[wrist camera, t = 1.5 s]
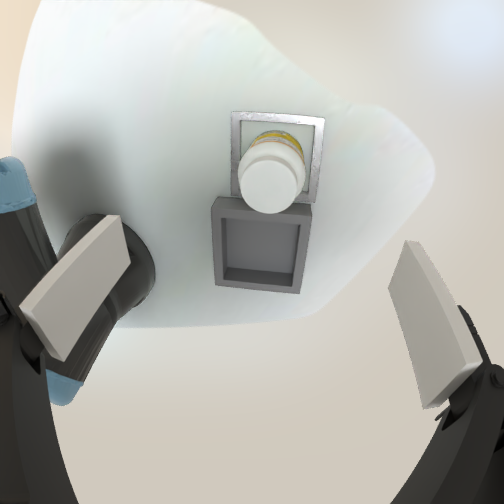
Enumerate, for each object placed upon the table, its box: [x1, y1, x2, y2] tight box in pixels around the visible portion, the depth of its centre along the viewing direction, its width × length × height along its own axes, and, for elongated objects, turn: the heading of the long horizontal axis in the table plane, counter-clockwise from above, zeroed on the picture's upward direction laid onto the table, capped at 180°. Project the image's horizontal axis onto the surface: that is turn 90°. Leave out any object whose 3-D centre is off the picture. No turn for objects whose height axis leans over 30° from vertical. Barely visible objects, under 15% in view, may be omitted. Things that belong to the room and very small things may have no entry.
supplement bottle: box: [238, 130, 306, 214], centre depth 23 cm, size 5×5×10 cm
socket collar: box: [231, 111, 325, 203], centre depth 26 cm, size 9×9×1 cm
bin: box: [211, 197, 312, 294], centre depth 31 cm, size 10×10×3 cm
